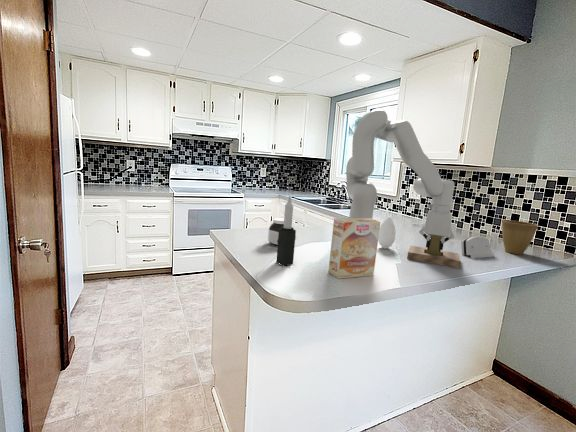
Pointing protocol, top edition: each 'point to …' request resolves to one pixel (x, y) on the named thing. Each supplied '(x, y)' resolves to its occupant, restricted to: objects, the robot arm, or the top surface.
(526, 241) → the plant pot
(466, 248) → the grey piece
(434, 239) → the cork
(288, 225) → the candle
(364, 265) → the coffeecake box
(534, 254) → the top surface
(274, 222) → the spread jar
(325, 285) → the top surface
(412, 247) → the tan flat frame
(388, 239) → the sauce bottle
